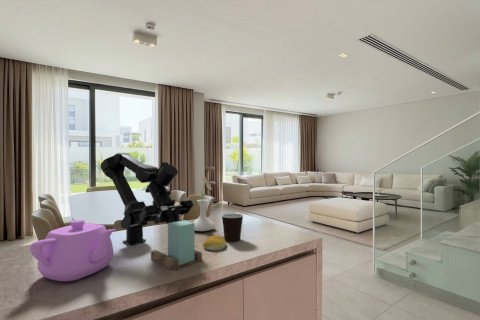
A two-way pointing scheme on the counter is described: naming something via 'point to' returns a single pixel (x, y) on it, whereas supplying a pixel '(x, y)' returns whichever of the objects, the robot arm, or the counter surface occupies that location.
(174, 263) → the walnut chute
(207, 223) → the flower in vase
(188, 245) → the teal block
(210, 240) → the bread roll
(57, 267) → the teapot
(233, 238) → the coffee mug
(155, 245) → the counter surface
